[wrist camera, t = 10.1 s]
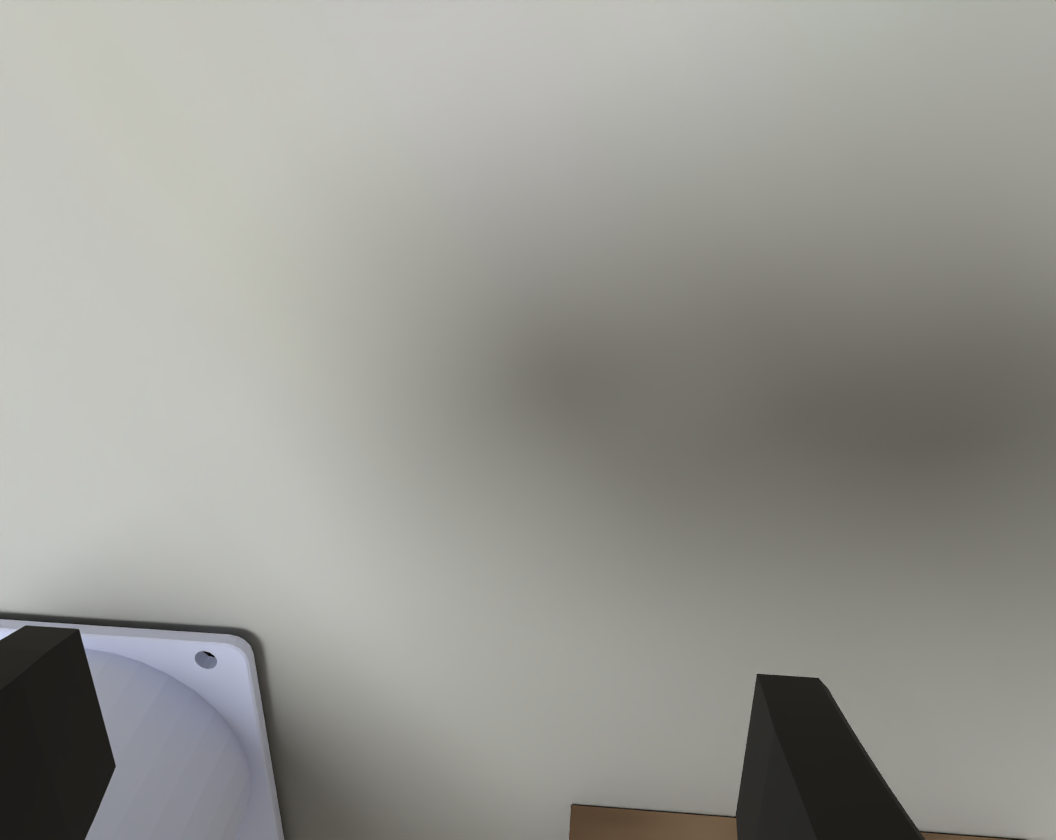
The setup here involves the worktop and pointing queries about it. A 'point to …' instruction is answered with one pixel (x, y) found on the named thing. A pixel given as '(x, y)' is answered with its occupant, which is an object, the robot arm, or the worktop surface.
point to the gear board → (667, 826)
